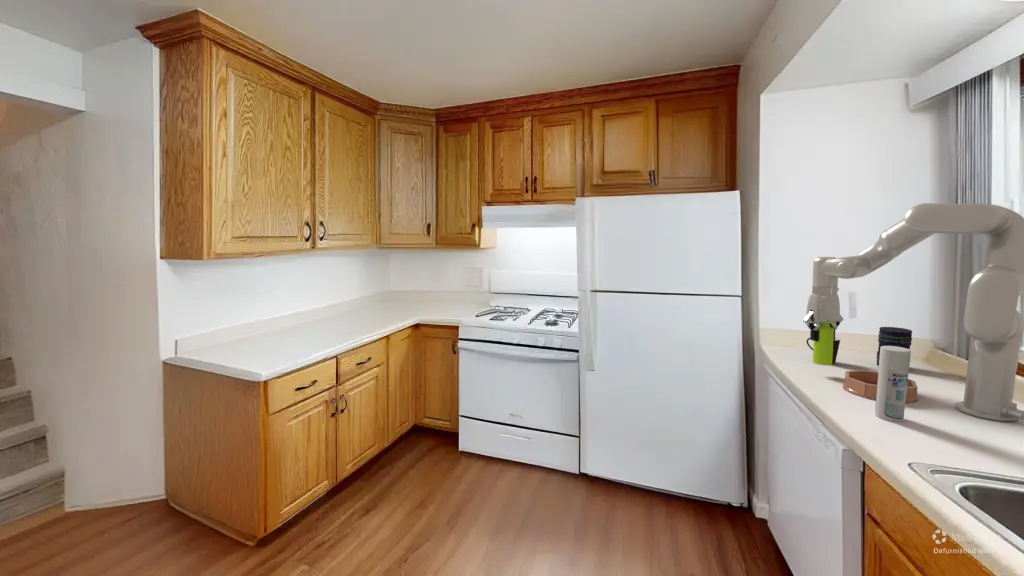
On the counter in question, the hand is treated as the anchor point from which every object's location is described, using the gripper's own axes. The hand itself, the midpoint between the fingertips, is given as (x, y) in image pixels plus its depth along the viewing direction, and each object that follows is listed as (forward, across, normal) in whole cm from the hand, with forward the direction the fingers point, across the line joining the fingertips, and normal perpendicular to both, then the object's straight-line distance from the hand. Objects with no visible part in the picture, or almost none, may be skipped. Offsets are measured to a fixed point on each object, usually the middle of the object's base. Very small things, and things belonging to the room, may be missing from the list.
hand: (822, 339), depth 165 cm
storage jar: (+14, -35, -4) cm, 37 cm away
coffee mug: (+13, -16, -16) cm, 26 cm away
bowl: (+14, -4, +19) cm, 24 cm away
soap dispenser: (+9, 0, 0) cm, 9 cm away
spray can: (+14, +12, +37) cm, 42 cm away
